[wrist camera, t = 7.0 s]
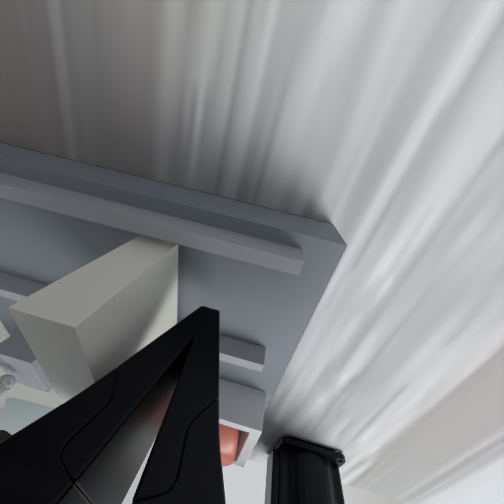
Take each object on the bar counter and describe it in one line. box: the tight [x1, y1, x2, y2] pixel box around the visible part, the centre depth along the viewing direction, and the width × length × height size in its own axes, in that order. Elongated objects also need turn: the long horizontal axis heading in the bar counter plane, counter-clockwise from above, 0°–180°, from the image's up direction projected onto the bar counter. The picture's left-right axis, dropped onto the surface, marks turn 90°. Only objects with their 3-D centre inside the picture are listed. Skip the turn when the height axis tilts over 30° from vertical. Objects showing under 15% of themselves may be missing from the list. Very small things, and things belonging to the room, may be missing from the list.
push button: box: [219, 424, 239, 466], centre depth 13 cm, size 4×4×2 cm
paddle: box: [8, 235, 178, 404], centre depth 7 cm, size 2×5×4 cm, turn 169°
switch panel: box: [0, 143, 347, 467], centre depth 12 cm, size 20×18×4 cm
